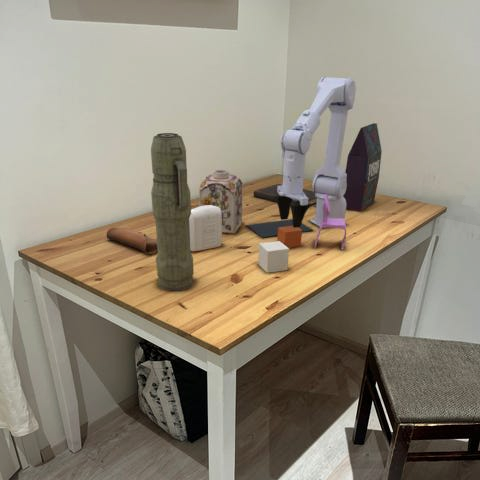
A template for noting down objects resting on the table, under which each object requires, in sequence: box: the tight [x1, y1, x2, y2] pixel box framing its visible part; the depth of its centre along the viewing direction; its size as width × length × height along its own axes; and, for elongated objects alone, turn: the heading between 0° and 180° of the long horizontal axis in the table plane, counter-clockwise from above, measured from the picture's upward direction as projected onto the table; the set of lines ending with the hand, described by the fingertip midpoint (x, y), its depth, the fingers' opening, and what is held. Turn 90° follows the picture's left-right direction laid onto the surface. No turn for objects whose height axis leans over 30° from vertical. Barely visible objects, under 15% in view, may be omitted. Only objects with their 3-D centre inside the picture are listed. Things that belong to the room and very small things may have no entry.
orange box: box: [276, 226, 303, 249], centre depth 144 cm, size 6×5×5 cm
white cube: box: [257, 240, 290, 274], centre depth 129 cm, size 6×6×6 cm
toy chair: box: [314, 194, 347, 251], centre depth 141 cm, size 8×9×15 cm
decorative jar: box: [198, 169, 243, 235], centre depth 153 cm, size 12×12×18 cm
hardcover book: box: [253, 183, 317, 207], centre depth 188 cm, size 16×23×2 cm
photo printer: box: [189, 205, 223, 252], centre depth 139 cm, size 10×4×12 cm, turn 123°
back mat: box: [246, 218, 313, 239], centre depth 157 cm, size 18×12×1 cm, turn 113°
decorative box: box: [343, 122, 383, 212], centre depth 175 cm, size 8×16×28 cm, turn 148°
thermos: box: [150, 132, 195, 292], centre depth 112 cm, size 9×12×35 cm
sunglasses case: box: [106, 227, 158, 255], centre depth 143 cm, size 18×7×7 cm, turn 51°
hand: (290, 223), depth 142 cm, fingers open, 7 cm apart
